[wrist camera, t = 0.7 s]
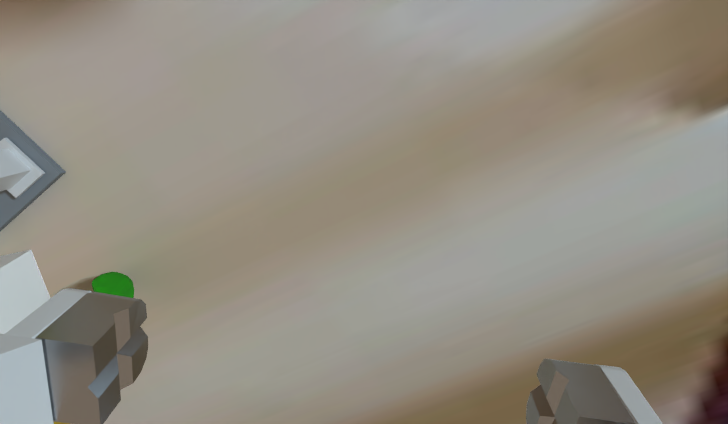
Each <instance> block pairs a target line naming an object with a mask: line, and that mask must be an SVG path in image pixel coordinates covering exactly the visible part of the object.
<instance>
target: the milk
mask: <svg viewBox="0 0 728 424" xmlns="http://www.w3.org/2000/svg"><path fill="white" fill-rule="evenodd" d="M49 299H50V296H49V293H48V291H47V288H46V286H45V283H44V281H43V278H42V276H41V273H40V271H39V268H38V266H37V263H36V261H35V258H34V256H33V253H32V251H31V250H27V251H22V252H17V253H13V254H8V255H3V256H0V334H5V333H6V332H8V331H9V330H10V329H12V328H13V327H14V326H15V325H17V324H18V323H19V322H21V321H22V320H23V319H25V318H26V317H27V316H28V315H30V314H31V313H32V312H34V311H35V310H36V309H37V308H39V307H40V306H41V305H43V304H44V303H45V302H46V301H48V300H49Z"/></svg>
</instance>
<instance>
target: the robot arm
mask: <svg viewBox="0 0 728 424" xmlns="http://www.w3.org/2000/svg"><path fill="white" fill-rule="evenodd" d="M146 318H147V313H146V304H145V303H144V302H143V301H142V300H141V299H135V298H129V297H123V296H117V295H111V294H105V293H99V292H91V291H87V290H80V289H73V288H67V289H62V290H61V291H59V292H58V293H57V294H56V295H54V296H53V297H52V298H50V299H49V300H48V301H46V302H45V303H44V304H43V305H41V306H40V307H39V308H37V309H36V310H35V311H34V312H32V313H31V314H30V315H28V316H27V317H26V318H25V319H23V320H22V321H21V322H19V323H18V324H17V325H15V326H14V327H13V328H12V329H10V330H9V331H8V332H6V333H5V334H0V424H54V422H61V423H69V424H103V423H104V422H105V421H106V419H107V418H108V417H109V415H110V414H111V412H112V411H113V410H114V408H115V407H116V406H117V404H118V403H119V402H120V400H121V397H120V390H121V389H123V388H125V387H127V386H129V385H131V384H132V383H134V381H135V380H136V378H137V377H138V375H139V374H140V373H141V370H142V368H143V365H144V363H145V360H146V356H147V350H148V336H147V335H146V334H145V332H144V331H143V330H142V328H141V327H140V326H141V324H142V323H143V322H144V321H145V320H146ZM537 377H538V379H539V381H540V384H541V385H539V386H538V387H537V388H535V389H534V390H532V391H531V392H530V396H529V399H528V403H527V410H526V422H527V424H663V423H662V422H661V420H660V419H659V418H658V416H657V415H656V413H655V412H654V410H653V409H652V408H651V406H650V405H649V403H648V402H647V401H646V399H645V398H644V396H643V395H642V393H641V392H640V391H639V389H638V388H637V386H636V385H635V384H634V382H633V381H632V379H631V378H630V376H629V375H628V374H627V372H626V371H625V370H623V369H621V368H620V367H613V366H604V365H590V364H582V363H575V362H567V361H560V360H552V359H544V360H543V361H542V363H541V364H540V366H539V369H538V372H537Z"/></svg>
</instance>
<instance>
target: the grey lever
mask: <svg viewBox="0 0 728 424" xmlns="http://www.w3.org/2000/svg"><path fill="white" fill-rule="evenodd" d="M44 174H45V172H44V171H43V170H42V169H41V168H39V167H38V166H37V165H36V164H35V163H34V162H33V161H32V160H31V159H30V158H29V157H28V156H27V155H25V154H24V153H23V152H22V151H21V150H20V149H19V148H18V147H17V146H16V145H15V144H14V143H12V142H11V141H10V140H9V139H8V138H3V139H2V140H1V141H0V191H3V190H7V191H9V192H10V193H11V194H12V195H13V196H14V197H15V198H17V197H20V196H21V195H22V194H23V193H24V192H25V191H26V190H27V189H28V188H30V187H31V186H32V185H33V184H34V183H35V182H36V181H37V180H38V179H39V178H41V177H42V176H43V175H44Z"/></svg>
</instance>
